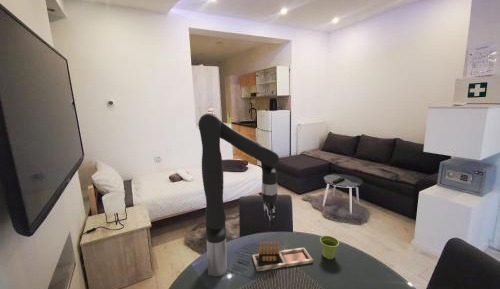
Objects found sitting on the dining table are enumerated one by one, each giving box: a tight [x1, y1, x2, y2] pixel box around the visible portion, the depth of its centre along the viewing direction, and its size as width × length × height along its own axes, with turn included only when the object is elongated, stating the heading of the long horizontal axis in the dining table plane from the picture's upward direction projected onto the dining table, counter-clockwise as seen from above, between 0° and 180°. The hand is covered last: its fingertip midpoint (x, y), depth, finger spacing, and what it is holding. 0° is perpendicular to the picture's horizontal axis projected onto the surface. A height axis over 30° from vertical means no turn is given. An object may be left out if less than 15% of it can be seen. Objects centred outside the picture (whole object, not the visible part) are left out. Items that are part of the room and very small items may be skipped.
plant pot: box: [319, 235, 340, 260], centre depth 122 cm, size 9×9×9 cm
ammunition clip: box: [257, 240, 281, 264], centre depth 117 cm, size 11×2×12 cm, turn 91°
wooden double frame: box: [251, 247, 314, 272], centre depth 119 cm, size 29×10×2 cm, turn 102°
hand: (269, 222), depth 114 cm, fingers open, 8 cm apart
